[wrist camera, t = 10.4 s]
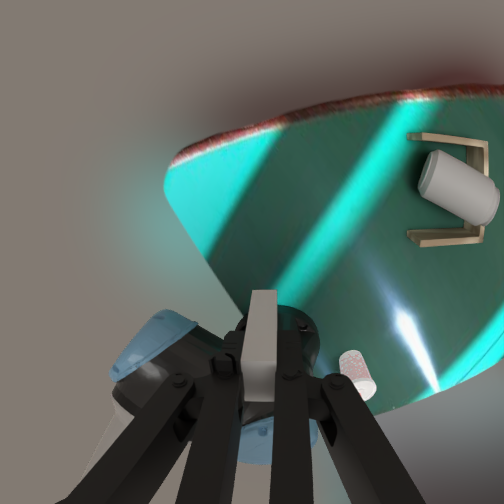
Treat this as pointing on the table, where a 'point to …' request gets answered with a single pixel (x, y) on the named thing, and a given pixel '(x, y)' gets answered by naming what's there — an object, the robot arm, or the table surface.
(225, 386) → the robot arm
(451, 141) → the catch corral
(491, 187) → the can
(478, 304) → the table surface
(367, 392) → the beverage cup
